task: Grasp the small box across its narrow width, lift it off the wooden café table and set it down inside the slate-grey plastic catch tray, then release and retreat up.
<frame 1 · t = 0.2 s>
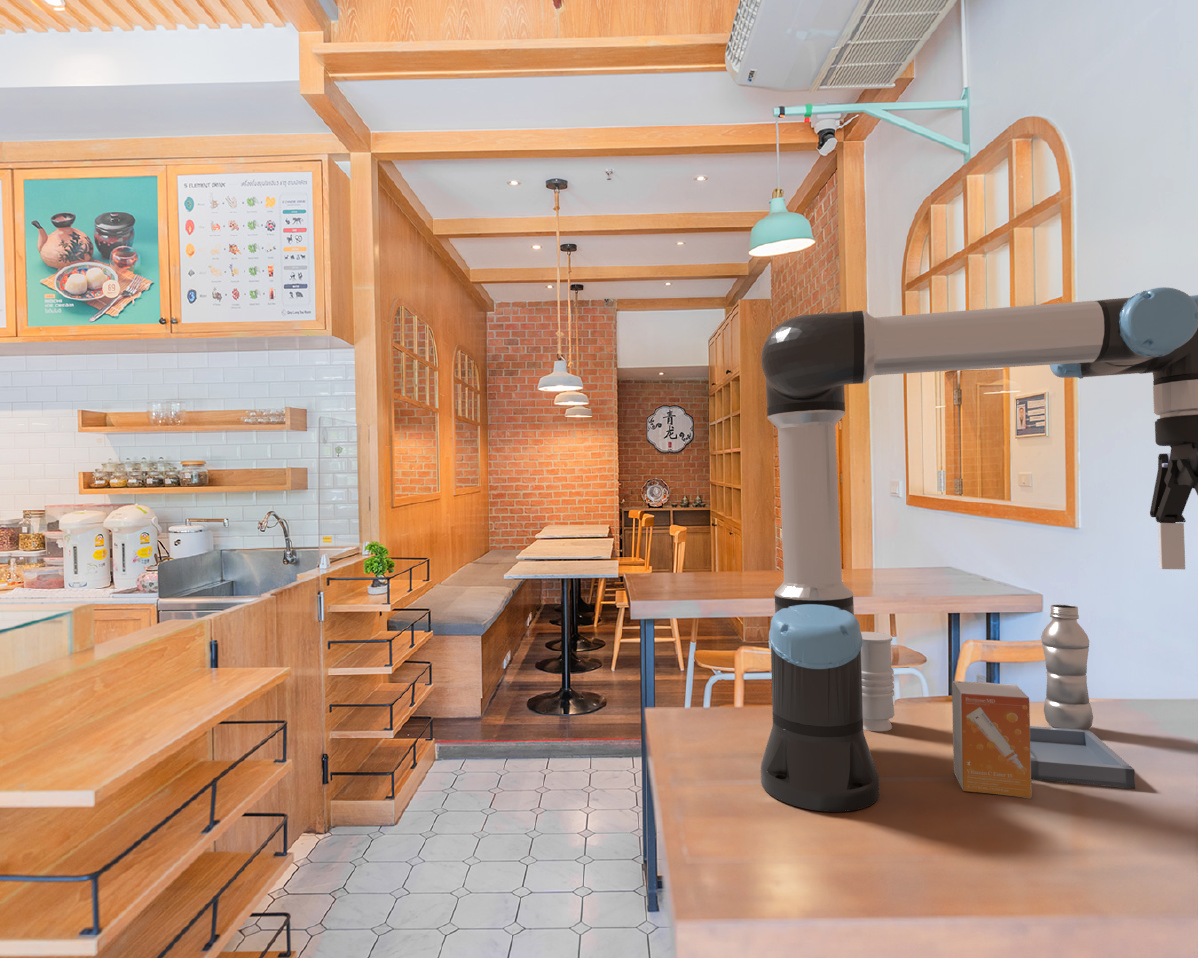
hand: (1196, 575, 91), 28 cm above the table, fingers open, 13 cm apart
catch tray: (1061, 762, 98), on the table
white bottle: (872, 726, 115), on the table
small box: (991, 787, 91), on the table
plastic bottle: (1068, 730, 111), on the table
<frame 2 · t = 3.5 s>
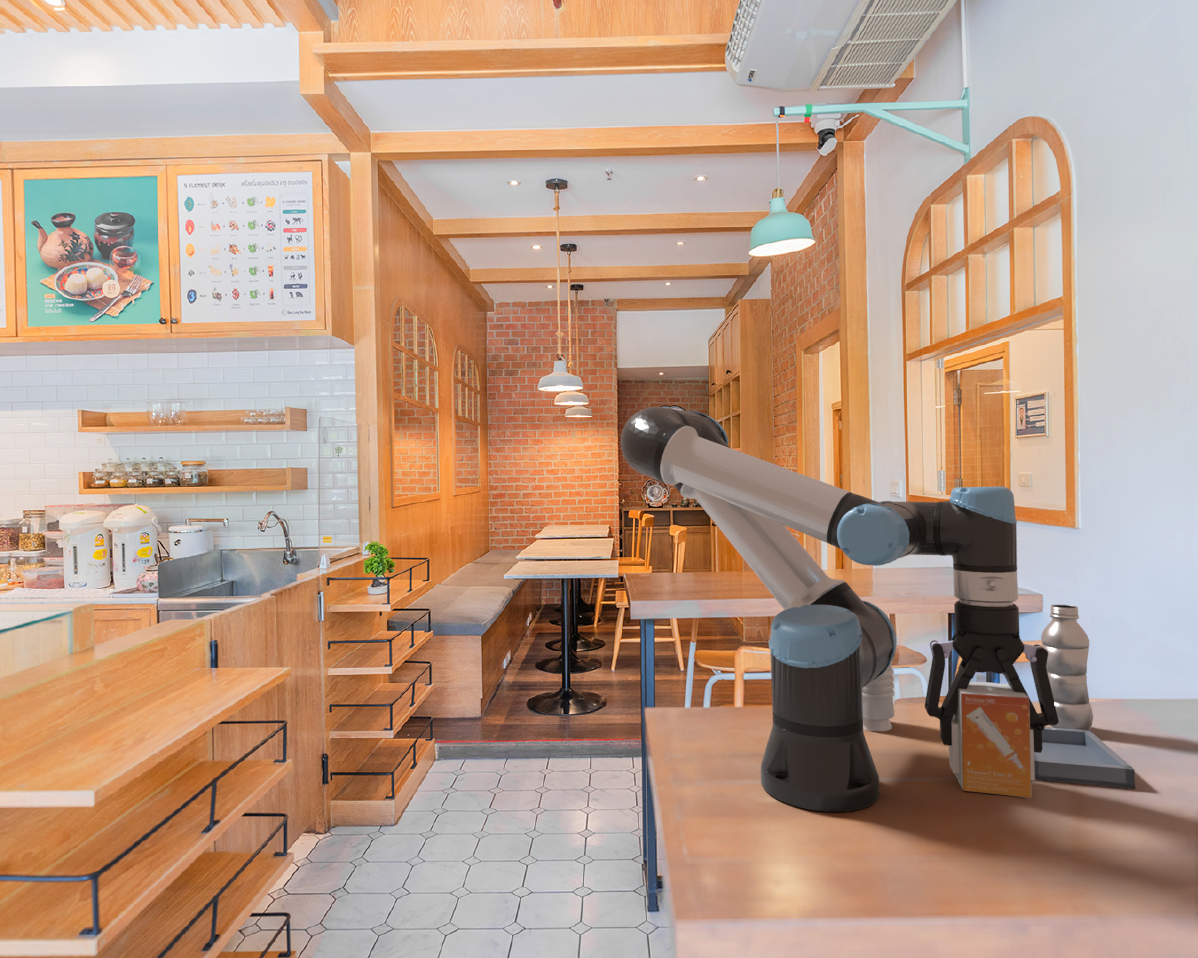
hand: (990, 772, 91), 2 cm above the table, fingers closed on small box, 8 cm apart
small box: (991, 787, 91), on the table, touching gripper
everything else where it was.
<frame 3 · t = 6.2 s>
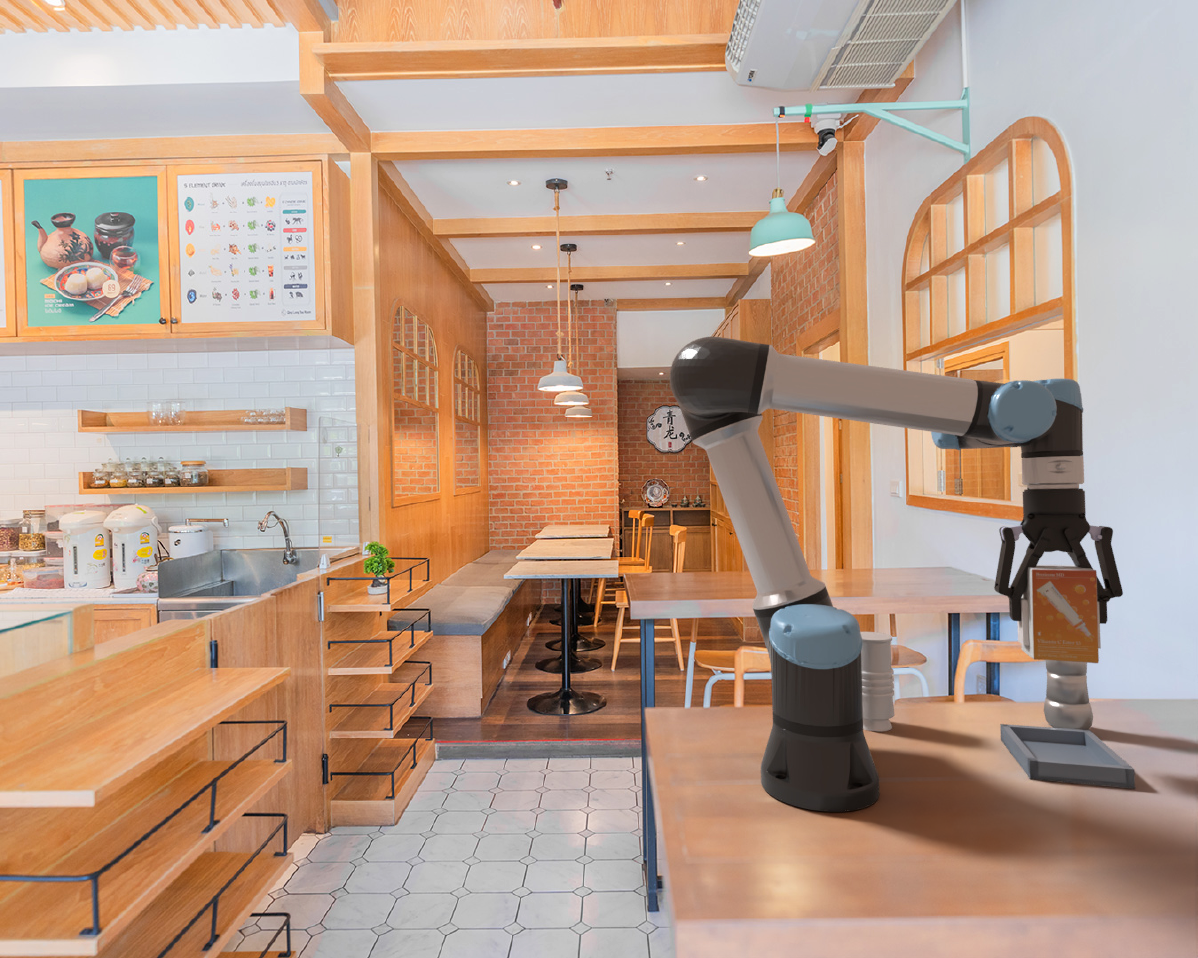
hand: (1058, 644, 98), 17 cm above the table, fingers closed on small box, 8 cm apart
small box: (1058, 658, 98), point 15 cm above the table, touching gripper
everything else where it was.
when the fingers open (4 cm above the table, at t = 8.8 s): small box drops 2 cm, resting on catch tray.
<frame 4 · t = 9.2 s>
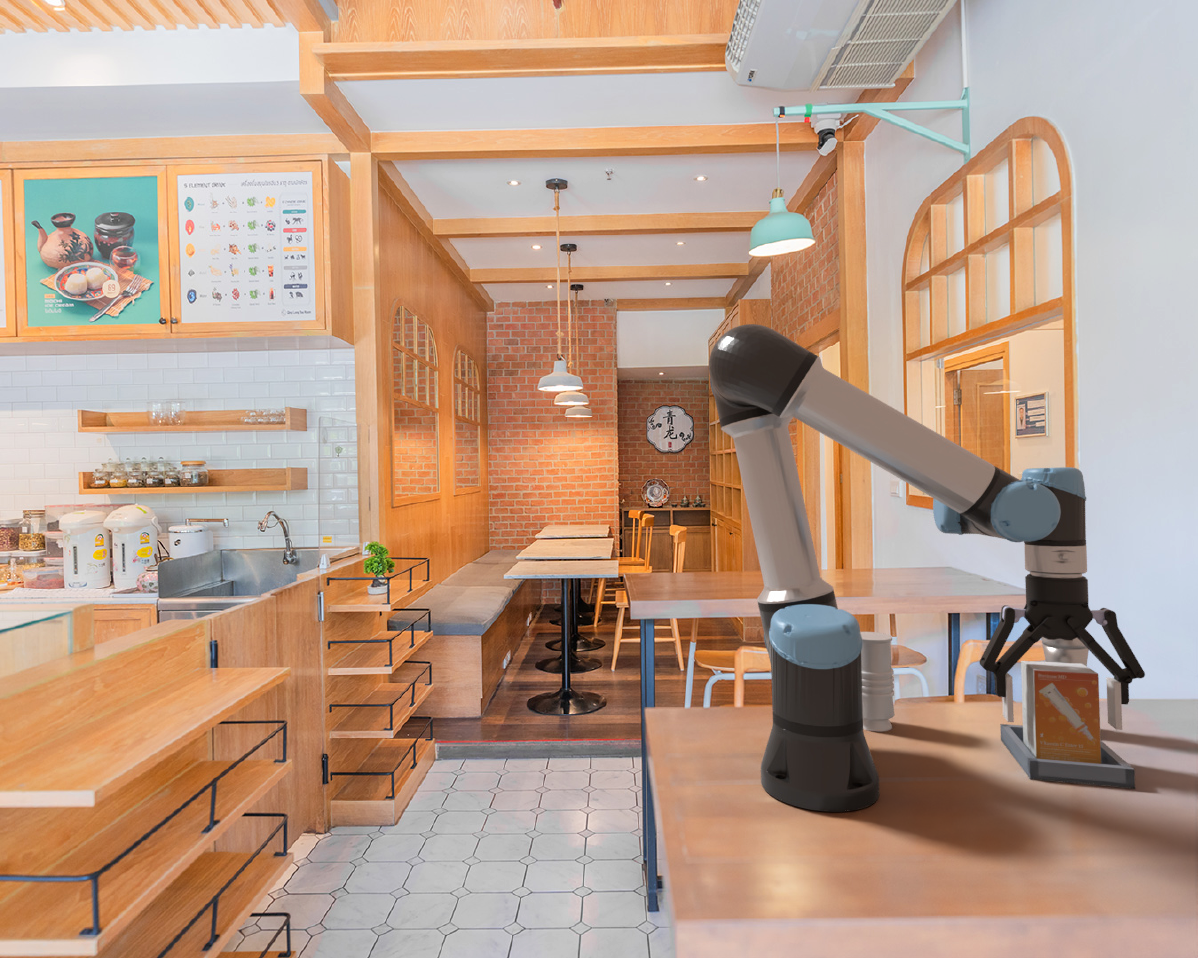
hand: (1060, 722, 98), 6 cm above the table, fingers open, 13 cm apart
small box: (1061, 758, 98), resting on catch tray
everything else where it was.
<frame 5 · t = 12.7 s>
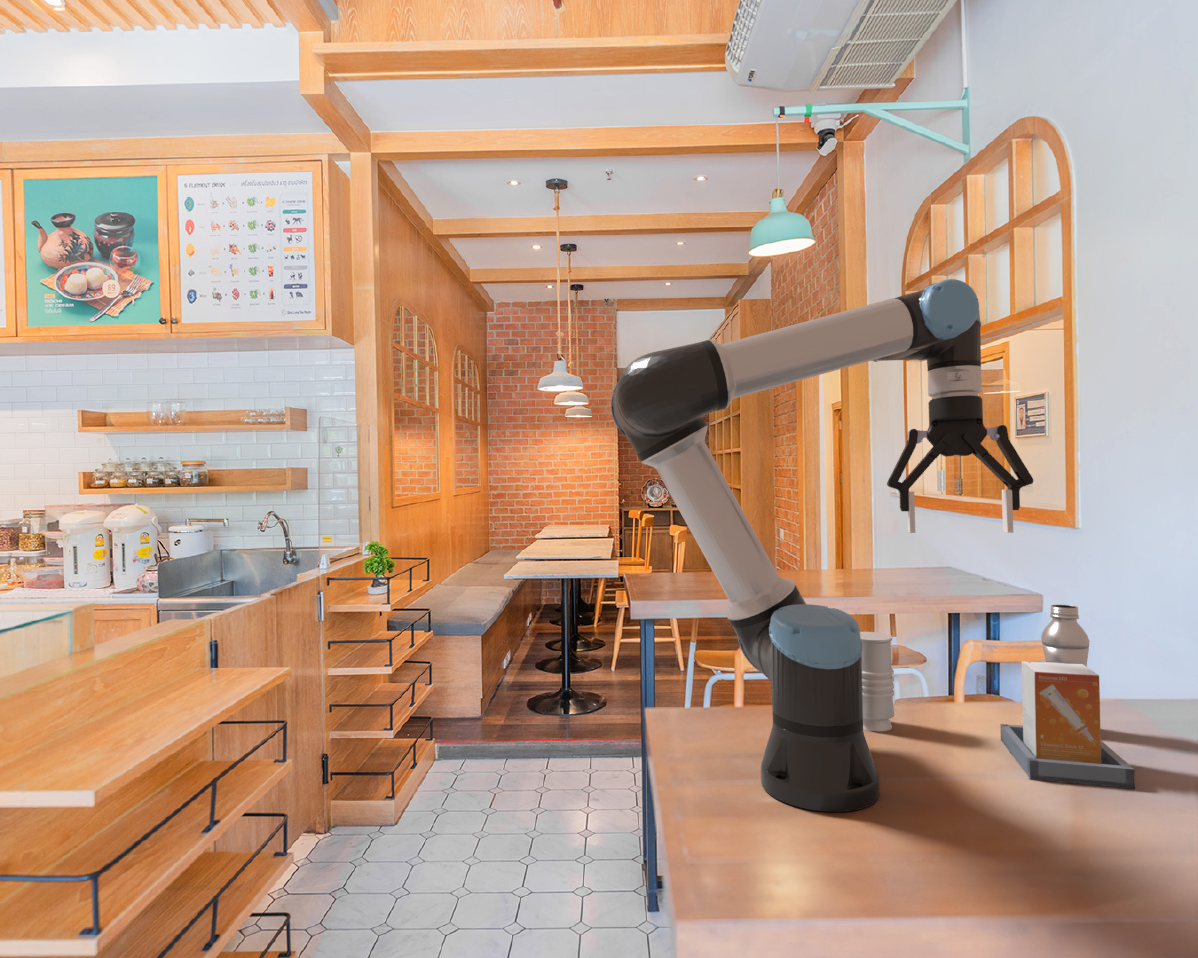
hand: (958, 532, 107), 33 cm above the table, fingers open, 13 cm apart
nothing on the table moved.
at the end: small box inside the target area (0.4 cm from its centre), resting on catch tray; small box tilted 0°; the gripper is holding nothing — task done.
